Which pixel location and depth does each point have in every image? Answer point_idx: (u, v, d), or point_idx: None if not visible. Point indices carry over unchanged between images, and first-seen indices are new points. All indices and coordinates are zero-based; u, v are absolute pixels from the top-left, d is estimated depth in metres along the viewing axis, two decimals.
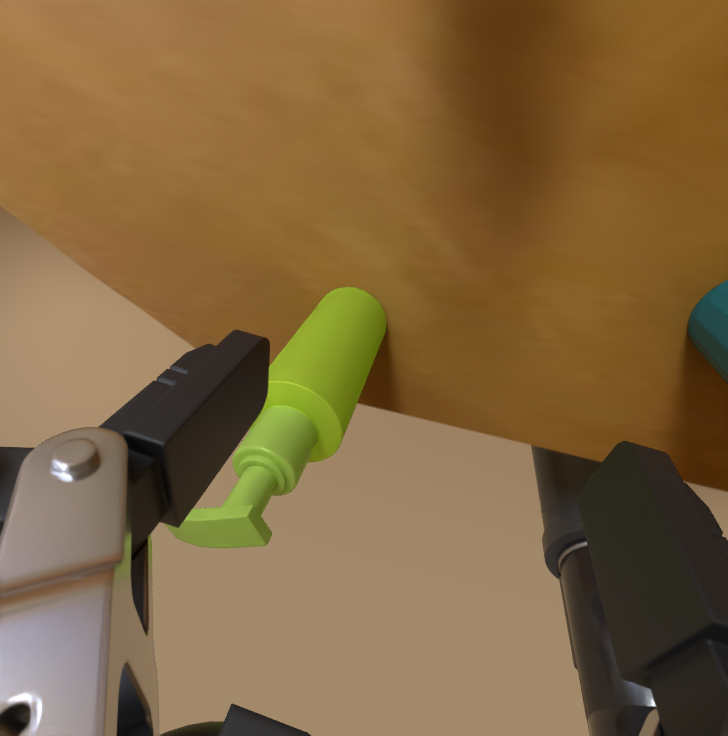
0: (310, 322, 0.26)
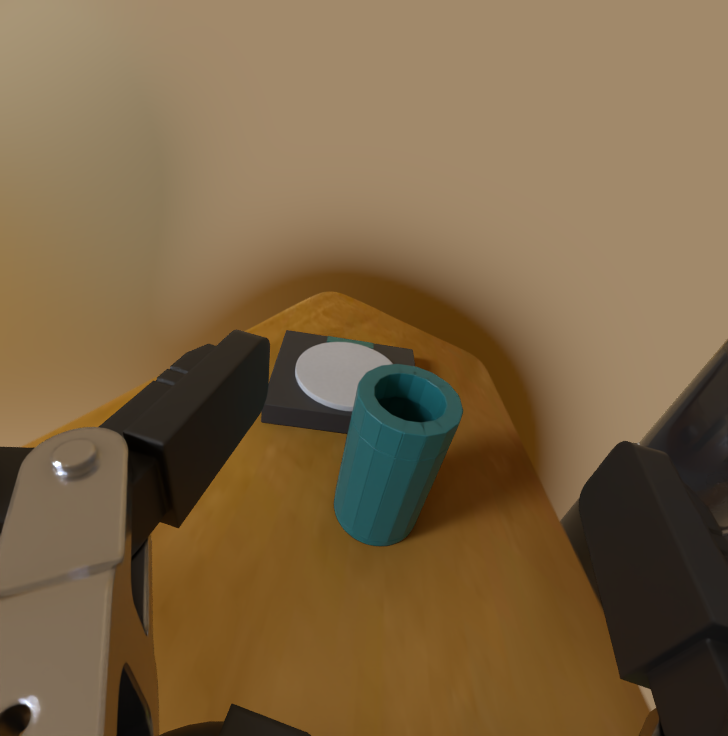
0: None
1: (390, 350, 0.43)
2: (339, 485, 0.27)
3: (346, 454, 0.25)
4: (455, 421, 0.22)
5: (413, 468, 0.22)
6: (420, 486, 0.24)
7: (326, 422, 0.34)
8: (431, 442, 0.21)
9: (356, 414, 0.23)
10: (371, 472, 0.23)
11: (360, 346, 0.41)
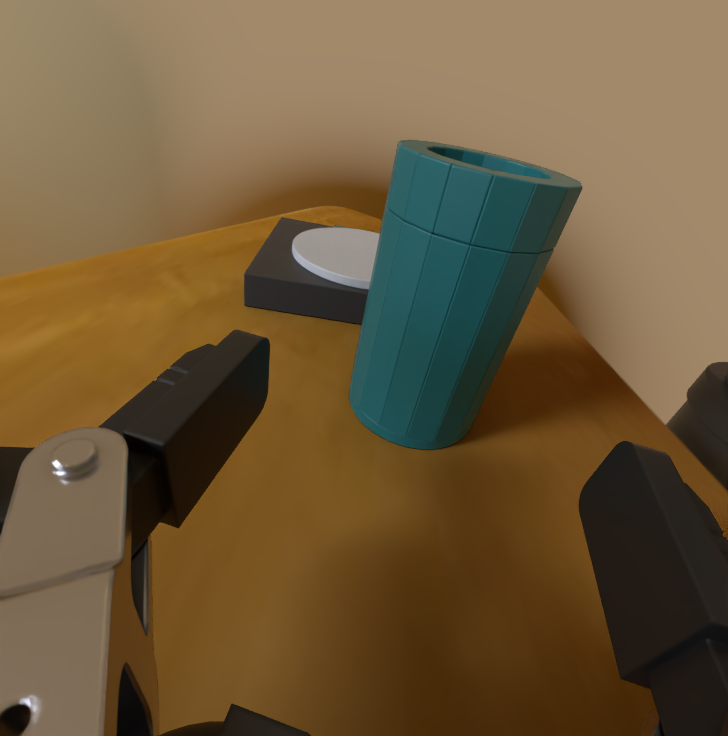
0: None
1: None
2: (359, 353, 0.17)
3: (373, 285, 0.15)
4: (574, 184, 0.12)
5: (499, 271, 0.12)
6: (501, 324, 0.14)
7: (335, 306, 0.24)
8: (540, 206, 0.11)
9: (396, 187, 0.13)
10: (422, 292, 0.13)
11: (377, 234, 0.32)
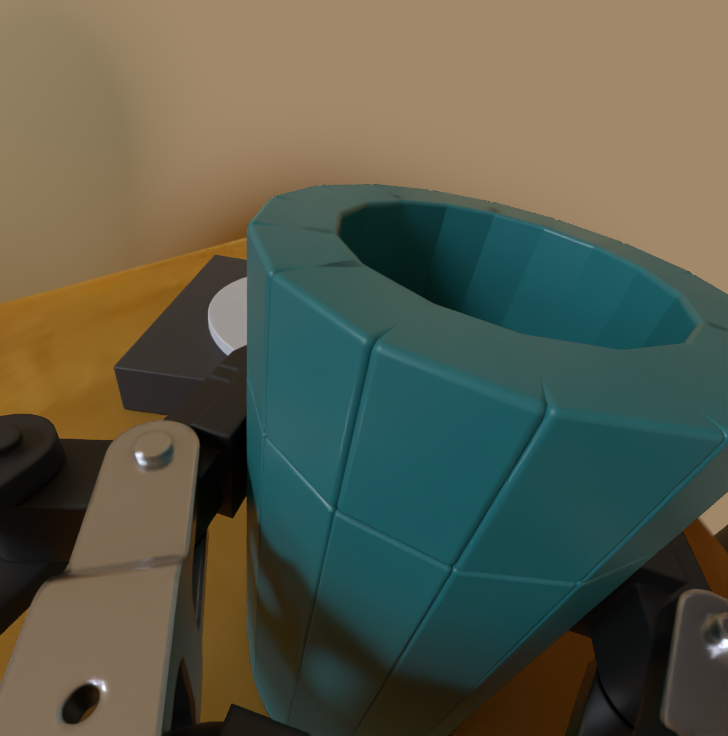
0: None
1: None
2: (248, 589, 0.09)
3: (247, 502, 0.07)
4: None
5: (544, 613, 0.04)
6: (538, 650, 0.06)
7: None
8: (712, 480, 0.03)
9: (250, 332, 0.05)
10: (327, 610, 0.05)
11: None
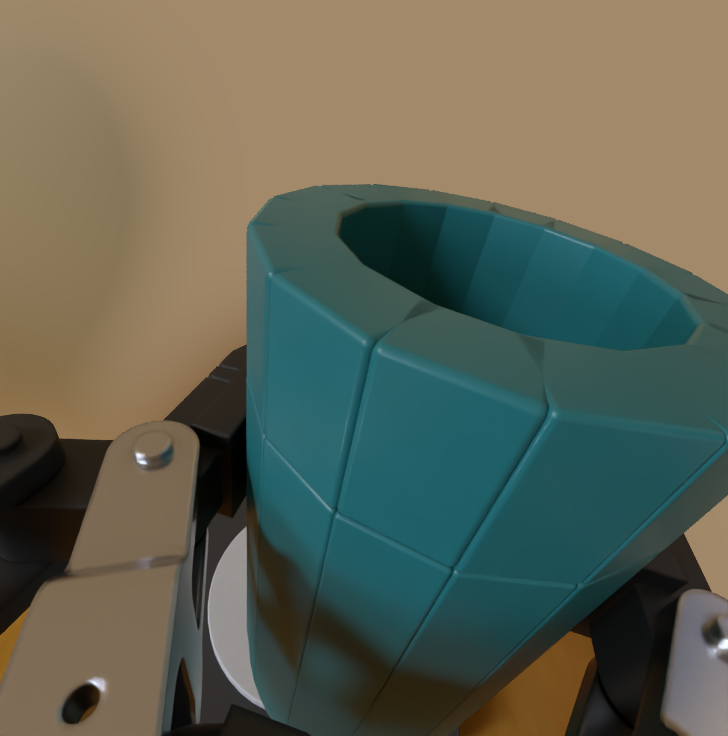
0: None
1: None
2: (247, 589, 0.09)
3: None
4: None
5: (545, 615, 0.04)
6: (538, 652, 0.06)
7: None
8: (714, 483, 0.03)
9: (249, 333, 0.05)
10: (327, 611, 0.05)
11: None
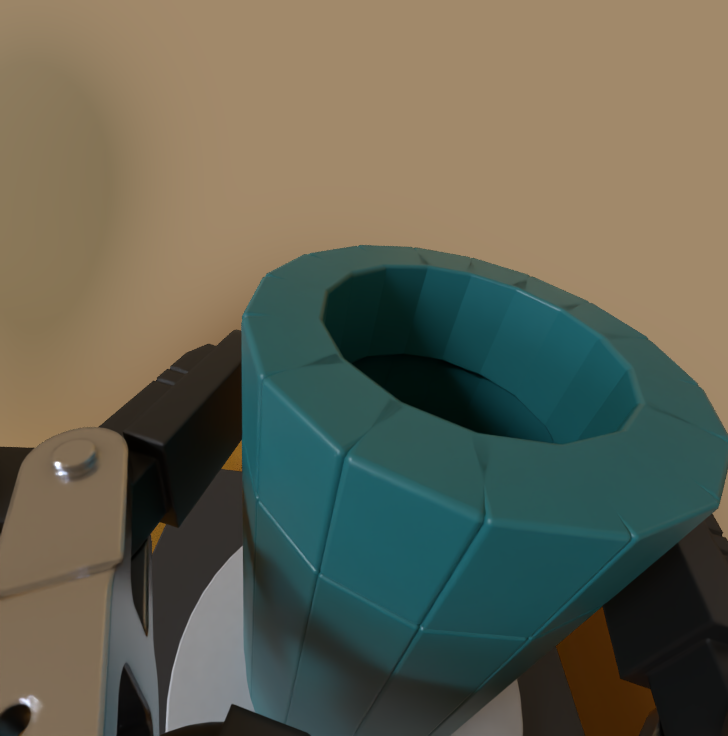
0: None
1: None
2: (244, 614, 0.09)
3: (243, 540, 0.07)
4: (710, 433, 0.04)
5: (503, 660, 0.05)
6: (507, 682, 0.06)
7: None
8: (633, 561, 0.04)
9: (244, 404, 0.05)
10: (315, 650, 0.05)
11: None
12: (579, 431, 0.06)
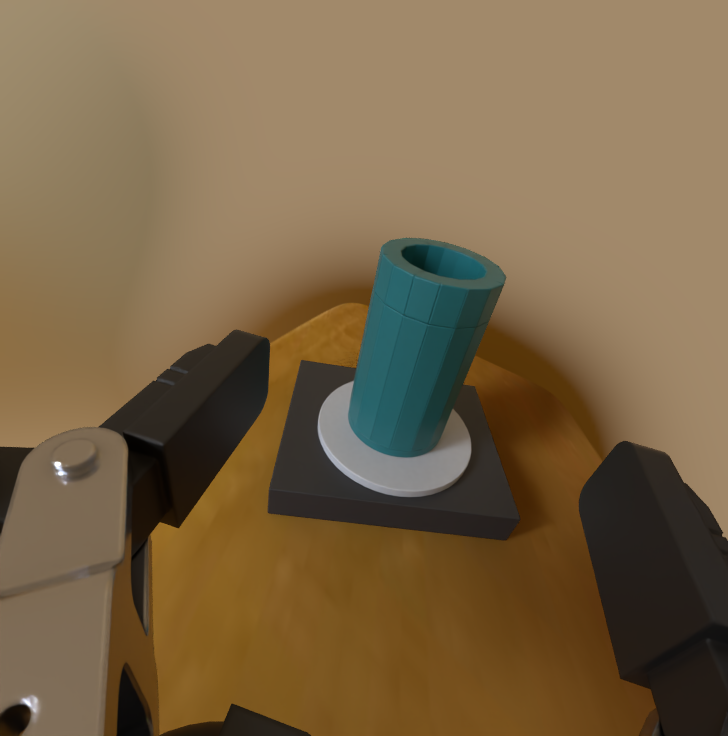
0: None
1: None
2: (355, 386, 0.23)
3: (365, 341, 0.21)
4: (498, 282, 0.18)
5: (449, 340, 0.18)
6: (454, 371, 0.20)
7: (369, 514, 0.22)
8: (472, 301, 0.17)
9: (380, 280, 0.19)
10: (398, 351, 0.19)
11: None
12: None
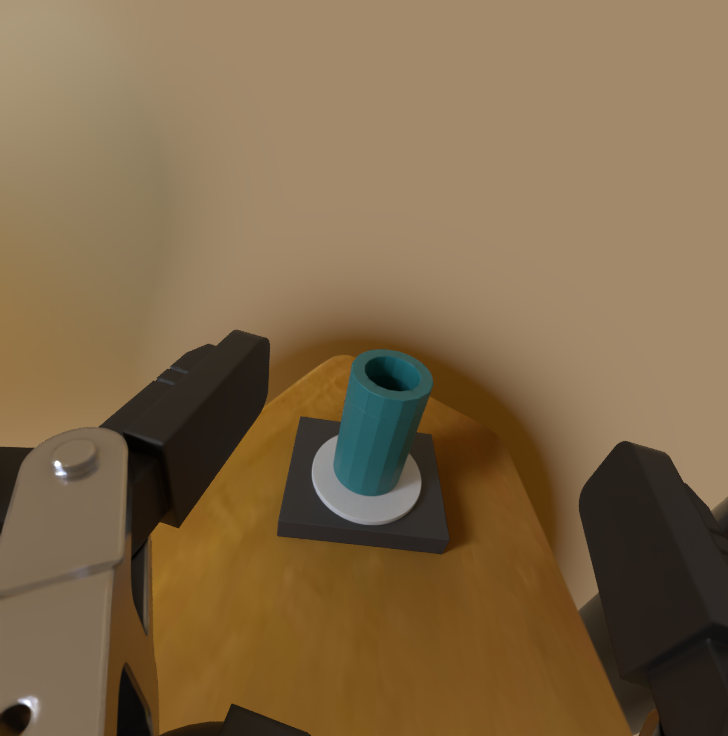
0: None
1: None
2: (337, 447, 0.33)
3: (343, 420, 0.32)
4: (426, 390, 0.29)
5: (394, 427, 0.29)
6: (400, 443, 0.30)
7: (346, 536, 0.32)
8: (407, 406, 0.28)
9: (350, 386, 0.29)
10: (362, 432, 0.30)
11: None
12: None
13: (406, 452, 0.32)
